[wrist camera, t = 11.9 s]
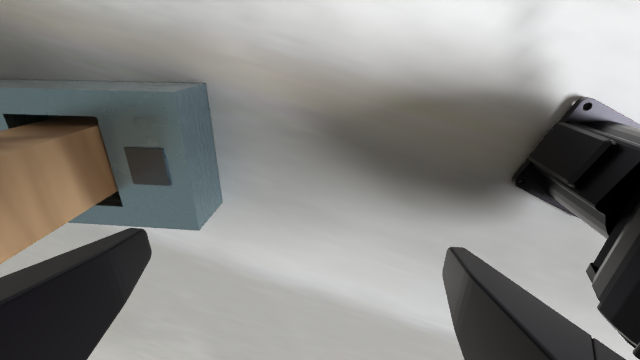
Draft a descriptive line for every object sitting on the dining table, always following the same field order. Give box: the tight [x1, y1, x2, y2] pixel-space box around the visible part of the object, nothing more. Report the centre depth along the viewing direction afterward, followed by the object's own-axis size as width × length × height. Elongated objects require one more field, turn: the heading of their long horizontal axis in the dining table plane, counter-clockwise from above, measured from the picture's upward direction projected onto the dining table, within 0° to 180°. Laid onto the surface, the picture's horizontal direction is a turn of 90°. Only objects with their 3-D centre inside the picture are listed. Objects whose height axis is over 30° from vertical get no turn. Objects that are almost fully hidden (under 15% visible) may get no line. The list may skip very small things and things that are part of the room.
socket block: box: [0, 79, 222, 230], centre depth 21 cm, size 16×9×4 cm, turn 89°
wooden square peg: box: [0, 116, 118, 264], centre depth 17 cm, size 4×4×12 cm
